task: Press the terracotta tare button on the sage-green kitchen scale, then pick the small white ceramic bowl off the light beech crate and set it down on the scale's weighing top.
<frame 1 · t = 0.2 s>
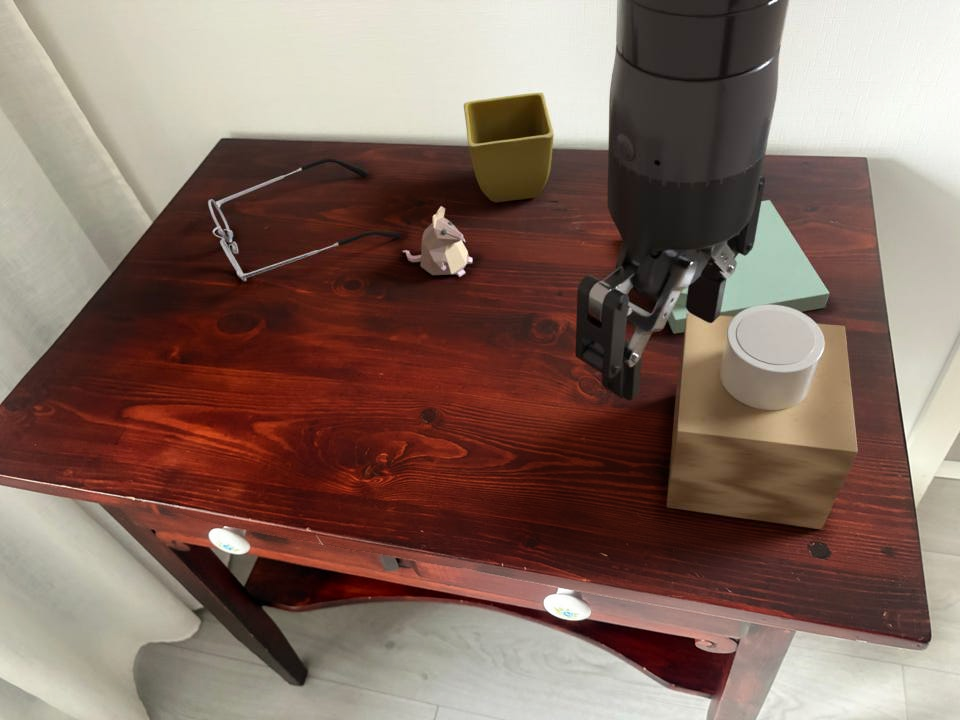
hand: (663, 351, 49), 14 cm above the table, tool pointing down, fingers open, 8 cm apart
tare button: (690, 268, 68), point 4 cm above the table, slide at 0.1 cm
mouse figurine: (435, 261, 79), on the table
ramekin: (764, 376, 52), point 10 cm above the table, touching crate
eyeglasses: (308, 233, 85), on the table
crate: (743, 457, 59), on the table
scale: (722, 270, 73), on the table
flower pot: (514, 189, 86), on the table
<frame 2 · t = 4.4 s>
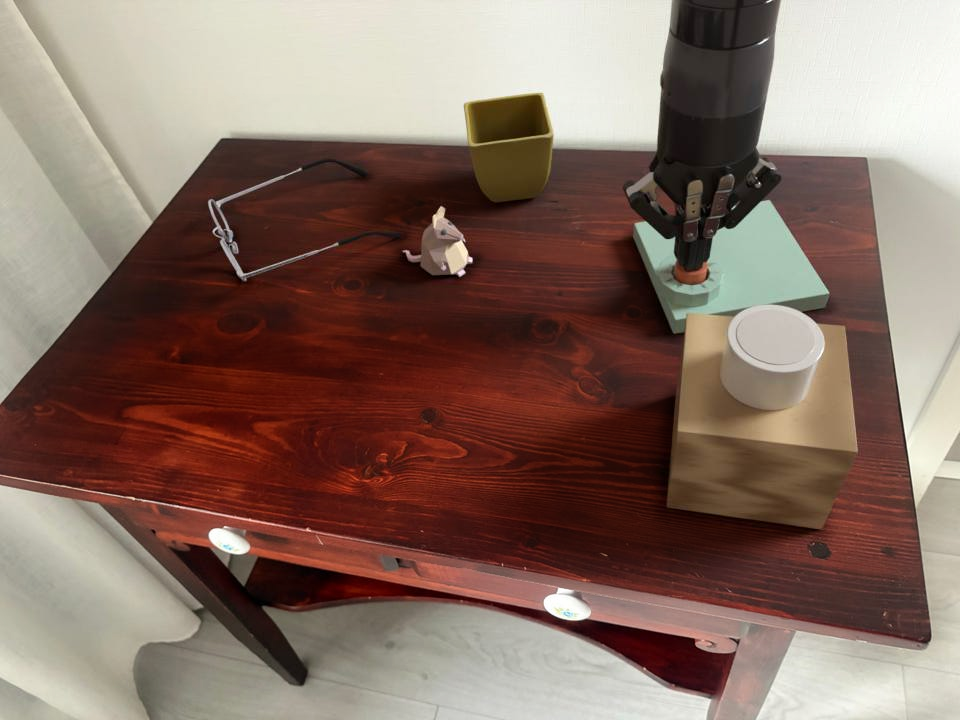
hand: (690, 263, 68), 4 cm above the table, tool pointing down, fingers closed
tare button: (690, 270, 68), point 4 cm above the table, slide at -0.1 cm, touching gripper
everything else where it was.
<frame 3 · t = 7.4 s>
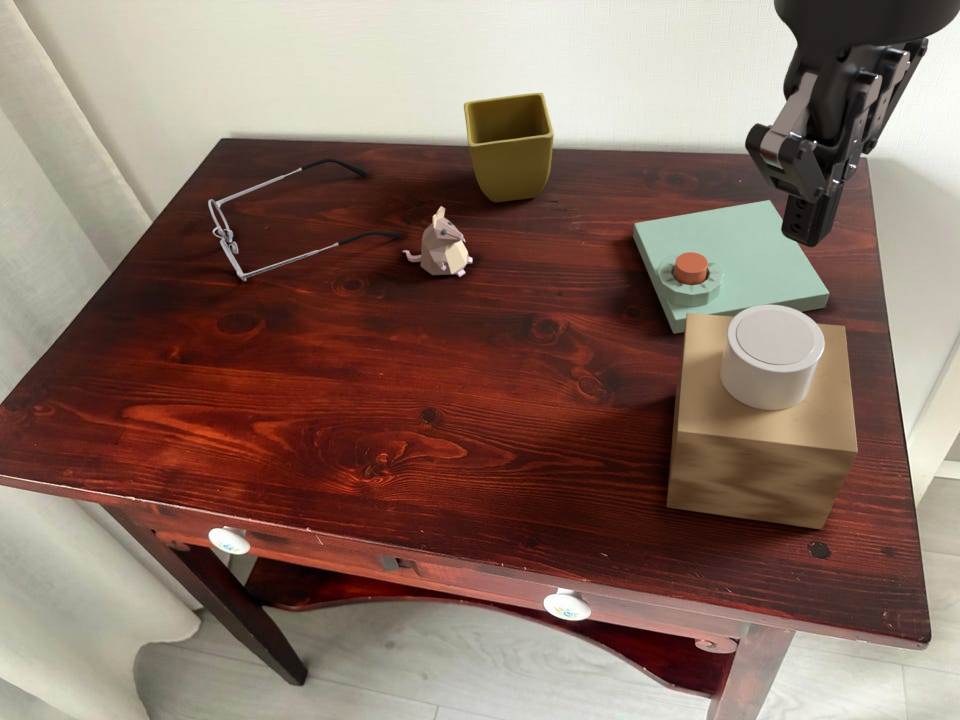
hand: (804, 235, 42), 22 cm above the table, tool pointing down, fingers closed
tare button: (690, 268, 68), point 4 cm above the table, slide at 0.1 cm
everything else where it was.
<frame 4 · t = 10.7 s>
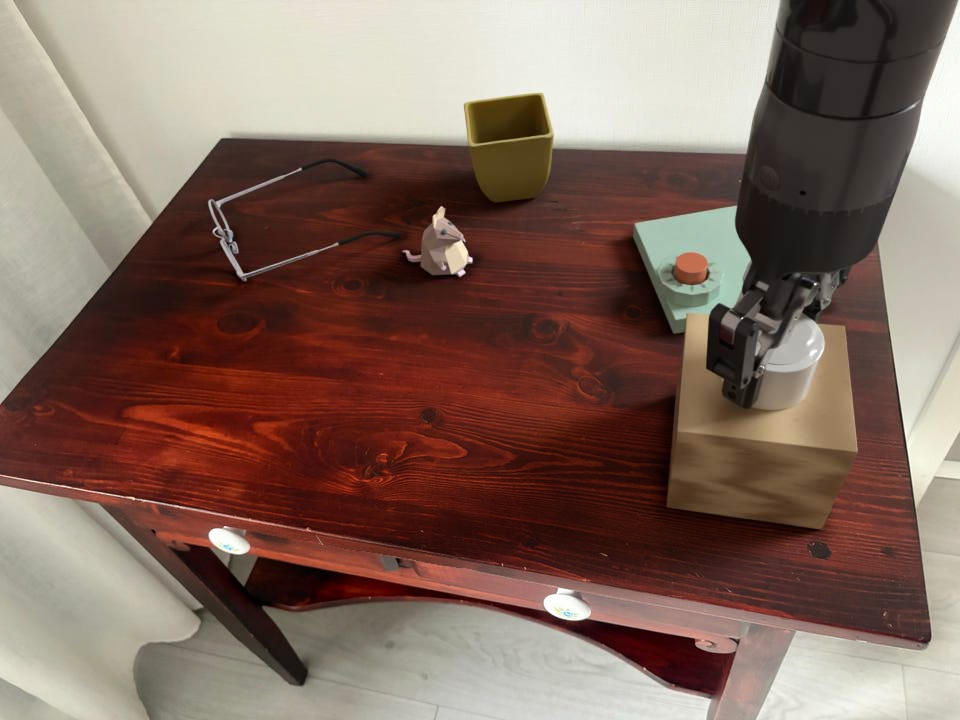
hand: (766, 369, 51), 11 cm above the table, tool pointing down, fingers closed on ramekin, 6 cm apart
ramekin: (764, 376, 52), point 10 cm above the table, touching crate, gripper
everything else where it was.
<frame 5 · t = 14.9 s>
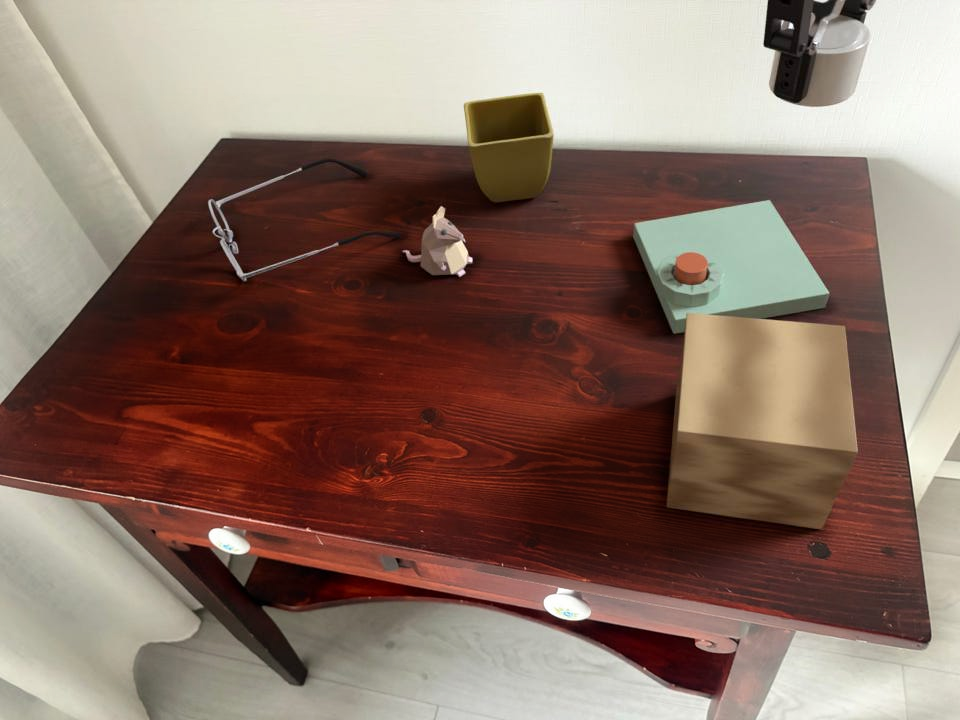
hand: (813, 77, 55), 21 cm above the table, tool pointing down, fingers closed on ramekin, 6 cm apart
ramekin: (811, 85, 56), point 21 cm above the table, touching gripper
everything else where it was.
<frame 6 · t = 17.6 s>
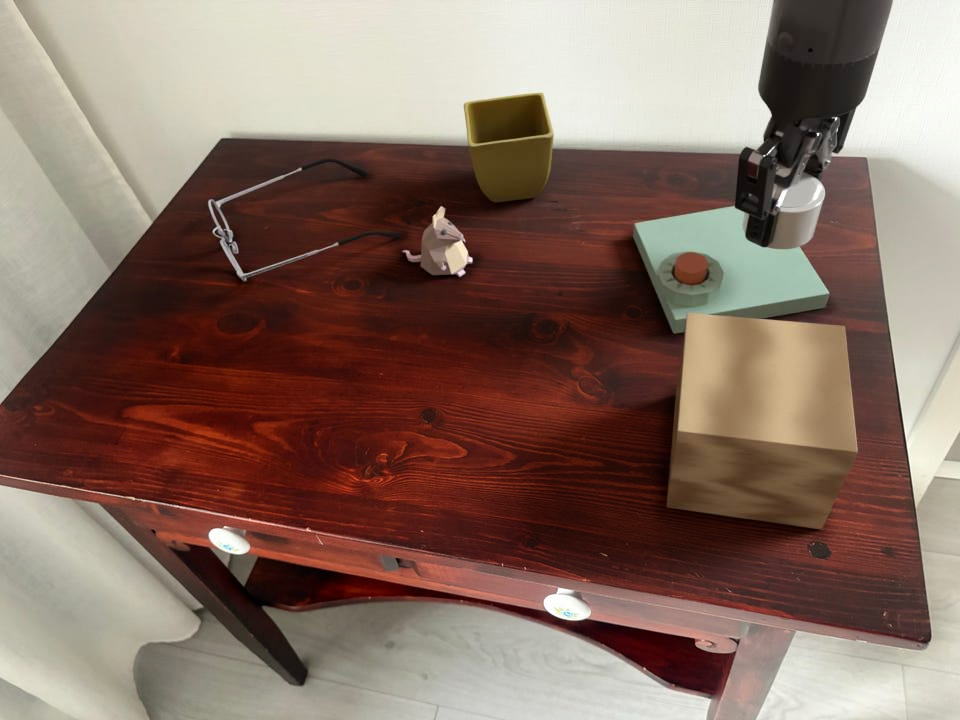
hand: (779, 221, 65), 8 cm above the table, tool pointing down, fingers closed on ramekin, 6 cm apart
ramekin: (777, 227, 66), point 7 cm above the table, touching gripper
everything else where it was.
when the fingers open (3 cm above the table, at t = 19.6 s): ramekin stays where it is, resting on scale.
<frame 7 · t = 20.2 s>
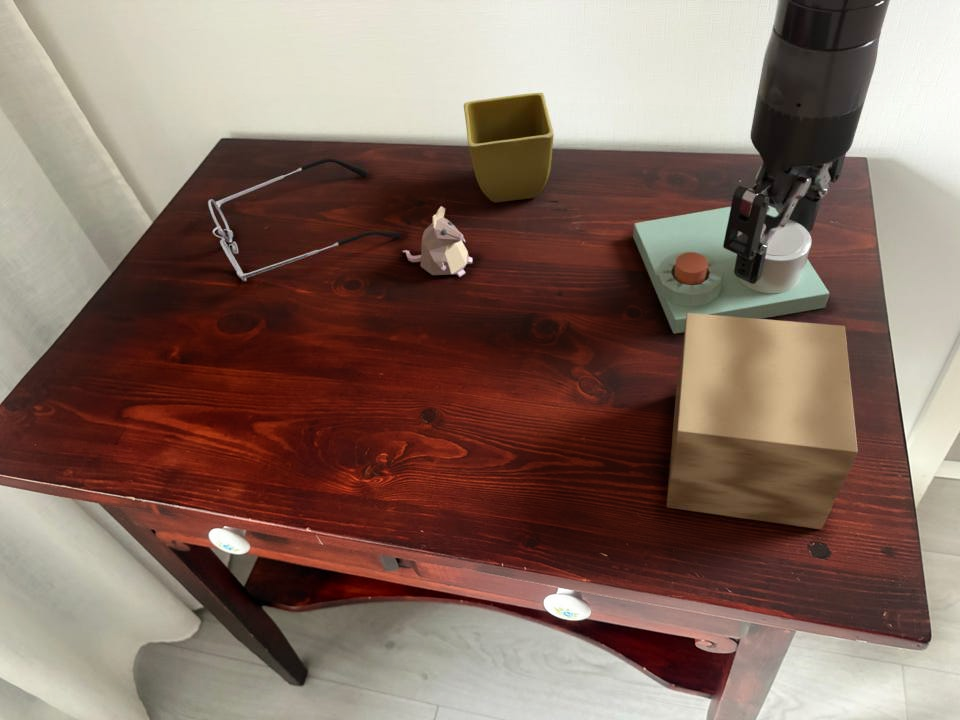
hand: (773, 253, 68), 4 cm above the table, tool pointing down, fingers open, 8 cm apart
ramekin: (767, 271, 70), point 2 cm above the table, touching scale
everything else where it was.
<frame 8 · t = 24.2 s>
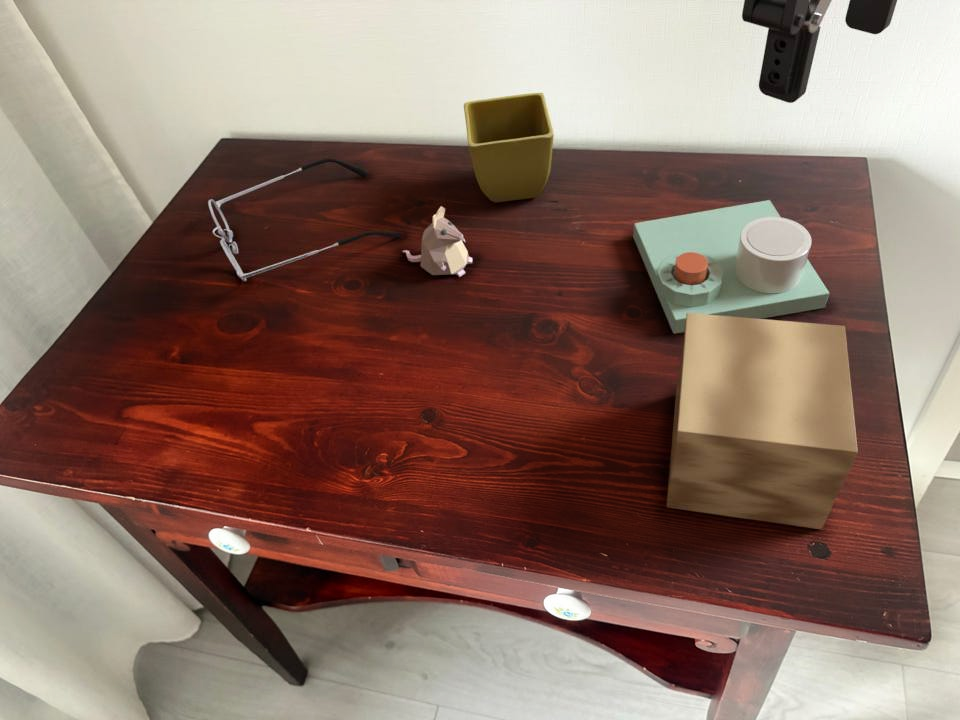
hand: (824, 60, 40), 30 cm above the table, tool pointing down, fingers open, 8 cm apart
nothing on the table moved.
at the end: tare button pushed in 0.9 cm at the most during the clip, back to where it started at the end; ramekin inside the target area on the scale (0.2 cm from its centre), point 1.9 cm above the scale's base; ramekin touching scale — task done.
